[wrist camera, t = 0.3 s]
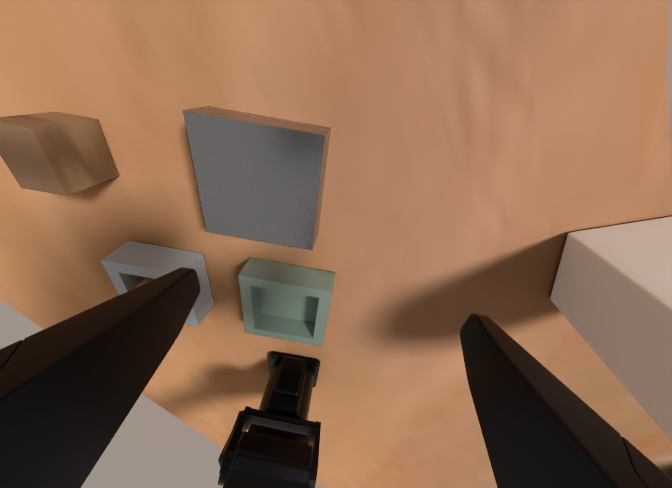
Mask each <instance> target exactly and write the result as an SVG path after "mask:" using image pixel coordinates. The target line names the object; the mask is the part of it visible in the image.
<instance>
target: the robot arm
mask: <svg viewBox="0 0 672 488" xmlns="http://www.w3.org/2000/svg"><path fill="white" fill-rule="evenodd" d="M200 290H201V287H200V283H199V279H198V275H197V272H196V270H195V269H192V268H185V267H181V268H178V269H176V270H174V271H172V272H169V273H167V274H165V275H163V276H161V277H158V278H156V279H154V280H152V281H150V282H148V283H145V284H143V285H141V286H139V287H137V288H134V289H132V290H130V291H128V292H126V293H123V294H121V295H119V296H117V297H115V298H112V299H110V300H108V301H106V302H104V303H101V304H99V305H97V306H95V307H93V308H90V309H88V310H86V311H84V312H82V313H79V314H77V315H75V316H73V317H71V318H68V319H66V320H64V321H62V322H60V323H57V324H55V325H53V326H51V327H49V328H46V329H44V330H42V331H40V332H38V333H36V334H33V335H31V336H29V337H27V338H25V339H24V340H20V341H18V342H16V343H13V344H11V345H9V346H7V347H5V348H2V349H0V488H81V486H82V484H83V483H84V482H85V480H86V478H87V477H88V475H89V474H90V472H91V471H92V469H93V468H94V466H95V464H96V463H97V461H98V460H99V458H100V457H101V455H102V454H103V452H104V450H105V449H106V447H107V445H108V444H109V443H110V441H111V439H112V438H113V437H114V435H115V433H116V432H117V430H118V429H119V427H120V426H121V424H122V422H123V421H124V419H125V418H126V416H127V415H128V413H129V412H130V410H131V408H132V407H133V405H134V404H135V402H136V401H137V399H138V398H139V396H140V395H141V393H142V392H143V390H144V388H145V387H146V385H147V384H148V382H149V381H150V379H151V378H152V376H153V374H154V373H155V371H156V370H157V368H158V367H159V365H160V364H161V362H162V360H163V359H164V357H165V356H166V354H167V353H168V351H169V350H170V348H171V346H172V345H173V343H174V342H175V340H176V338H177V337H178V335H179V333H180V331H181V330H182V328H183V326H184V324H185V322H186V320H187V318H188V316H189V314H190V312H191V310H192V308H193V306H194V304H195V302H196V300H197V298H198V296H199V294H200ZM460 339H461V345H462V350H463V356H464V362H465V368H466V373H467V379H468V383H469V387H470V391H471V395H472V398H473V402H474V405H475V409H476V413H477V416H478V420H479V423H480V427H481V430H482V434H483V437H484V441H485V445H486V448H487V452H488V455H489V459H490V462H491V466H492V469H493V473H494V477H495V480H496V484H497V487H498V488H672V479H671V478H670V477H669V476H668V475H666V474H665V473H664V472H663V471H662V470H661V469H659V468H658V467H657V466H656V465H655V464H654V463H653V462H651V461H650V460H649V459H648V458H647V457H646V456H644V455H643V454H642V453H641V452H640V451H639V450H638V449H637V448H635V447H634V446H633V445H632V444H631V443H630V442H629V441H628V440H626V439H625V438H624V437H621V435H620V434H619V433H618V432H617V431H616V430H615V429H614V428H613V427H612V426H611V425H609V424H608V423H607V422H606V421H605V420H604V419H603V418H602V417H600V416H599V415H598V414H597V413H596V412H595V411H594V410H593V409H591V408H590V407H589V406H588V405H587V404H586V403H585V402H583V401H582V400H581V399H580V398H579V397H578V396H577V395H576V394H574V393H573V392H572V391H571V390H570V389H569V388H568V387H567V386H565V385H564V384H563V383H562V382H561V381H560V380H559V379H558V378H556V377H555V376H554V375H553V374H552V373H551V372H550V371H548V370H547V369H546V368H545V367H544V366H543V365H542V364H541V363H539V362H538V361H537V360H536V359H535V358H534V357H533V356H532V355H530V354H529V353H528V352H527V351H526V350H525V349H524V348H523V347H521V346H520V345H519V344H518V343H517V342H516V341H515V340H513V339H512V338H511V337H510V336H509V335H508V334H507V333H506V332H504V331H503V330H502V329H501V328H500V327H499V326H498V325H497V324H495V323H494V322H493V321H492V320H491V319H490V318H489V317H487V316H486V315H482V314H476V313H472V314H471V315H470V316H469V317H468V319H467V320H466V322H465V323H464V325H463V326H462V328H461V330H460ZM319 366H320V361H319V360H316V359H310V358H304V357H298V356H293V355H287V354H281V353H275V352H271V353H270V355H269V372H270V376H269V380H268V383H267V386H266V389H265V392H264V395H263V398H262V401H261V405H260V408H259V410H257V409H252V408H251V407H248V406H246V407H245V410H244V411H239V414H238V417H237V419H236V422H235V425H234V427H233V429H232V432H231V434H230V436H229V438H228V440H227V442H226V444H225V446H224V448H223V450H222V453H221V455H220V457H219V460H218V462H219V465H220V468H221V469H220V477H219V481H218V485H222V486H223V488H315V483H316V477H317V469H318V456H319V441H320V427H321V422H317V421H316V422H313V421H308V420H307V418H308V412H309V406H310V400H311V394H312V388H313V387H315V386H316V381H317V376H318V371H319ZM247 429H249V430H248V432H246V431H247Z"/></svg>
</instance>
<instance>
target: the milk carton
mask: <svg viewBox="0 0 672 488" xmlns="http://www.w3.org/2000/svg"><path fill="white" fill-rule="evenodd" d="M550 300H551V301H552V302H553V303H554V305H555V306H556V307H557V308H558V309H559V310H560V312H561V313H562V314H563V315H564V316H565V317H566V319H567V320H568V321H569V322H570V323H571V324H572V326H573V327H574V328H575V329H576V330H577V331H578V333H579V334H580V335H581V336H582V337H583V338H584V340H585V341H586V342H587V343H588V344H589V345H590V347H591V348H592V349H593V350H594V351H595V352H596V354H597V355H598V356H599V357H600V358H601V359H602V361H603V362H604V363H605V364H606V365H607V366H608V368H609V369H610V370H611V371H612V372H613V373H614V375H615V376H616V377H617V378H618V379H619V380H620V382H621V383H622V384H623V385H624V386H625V387H626V389H627V390H628V391H629V392H630V393H631V394H632V396H633V397H634V398H635V399H636V400H637V401H638V403H639V404H640V405H641V406H642V407H643V408H644V410H645V411H646V412H647V413H648V414H649V415H650V417H651V418H652V419H653V420H654V421H655V422H656V424H657V425H658V426H659V427H660V428H661V429H662V431H663V432H664V433H665V434H666V435H667V436H668V438H669V439H670V440H671V441H672V216H671V217H665V218H659V219H652V220H646V221H640V222H633V223H627V224H620V225H614V226H608V227H601V228H595V229H589V230H582V231H576V232H571V233H568V236H567V239H566V243H565V246H564V250H563V254H562V257H561V261H560V264H559V268H558V272H557V275H556V279H555V283H554V286H553V290H552V294H551V297H550Z"/></svg>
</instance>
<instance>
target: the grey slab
mask: <svg viewBox="0 0 672 488" xmlns="http://www.w3.org/2000/svg"><path fill="white" fill-rule="evenodd" d="M183 114H184V119H185V124H186V129H187V134H188V140H189V145H190V150H191V155H192V160H193V165H194V170H195V176H196V181H197V186H198V191H199V196H200V201H201V206H202V212H203V217H204V222H205V227H206V232H211V233H216V234H222V235H228V236H234V237H239V238H245V239H251V240H256V241H262V242H268V243H274V244H279V245H285V246H291V247H296V248H302V249H308V250H313V247H314V244H315V241H316V237H317V234H318V229H319V220H320V212H321V204H322V195H323V187H324V179H325V171H326V162H327V154H328V146H329V137H330V129H331V128H329V127H323V126H318V125H312V124H306V123H301V122H295V121H289V120H283V119H278V118H272V117H266V116H261V115H255V114H249V113H244V112H238V111H232V110H227V109H221V108H215V107H210V106H207V107H200V108H194V109H188V110H183Z"/></svg>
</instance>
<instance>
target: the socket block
mask: <svg viewBox="0 0 672 488" xmlns="http://www.w3.org/2000/svg"><path fill="white" fill-rule="evenodd" d="M100 261H101V263H102V265H103V267H104V268H105V270H106V272H107V274H108V276H109V278H110V280H111V281H112V283H113V285H114V287H115V289H116V291H117V293H118V295H121V294H123V293H126V292H128V291H130V290H132V289H134V288H135V287H136V286H137V285H139V284H140V283H141V282H142V281H143V280H144V279H145V278H146V277H148V278H153V279H156V278H158V277H161V276H163V275H165V274H167V273H169V272H172V271H174V270H176V269H178V268H181V267H185V268H192V269H195V270H196V272H197V275H198V279H199V283H200V287H201V290H200V294H199V296H198V298H197V300H196V302H195V304H194V306H193V308H192V310H191V312H190V314H189V316H188V318H187V320H186V322H185V324H187V325H193V326H199V325H200V323H201V322H202V320H203V319H204V317H205V316H206V314H207V313H208V311H209V310H210V308H211V307H212V306H213V304H214V302H213V297H212V293H211V288H210V284H209V279H208V275H207V270H206V265H205V261H204V256H203V253H197V252H192V251H186V250H180V249H174V248H169V247H163V246H157V245H151V244H146V243H140V242H134V241H128V242H126V243H125V244H124V245H122V246H121V247H119V248H118V249H116V250H115V251H113V252H112V253H110V254H109V255H107V256H106V257H104V258H103V259H101V260H100Z"/></svg>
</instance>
